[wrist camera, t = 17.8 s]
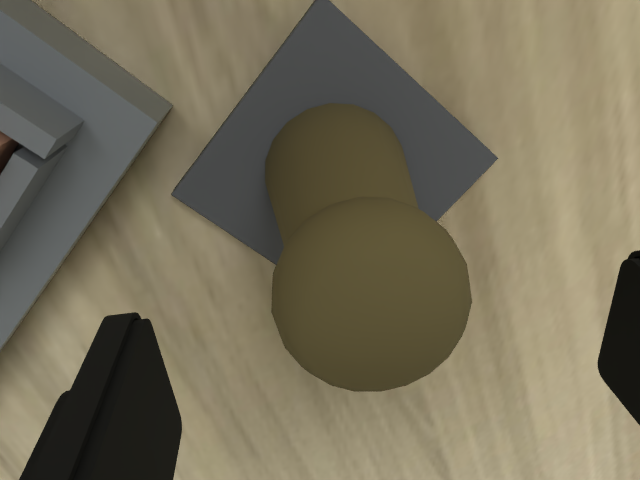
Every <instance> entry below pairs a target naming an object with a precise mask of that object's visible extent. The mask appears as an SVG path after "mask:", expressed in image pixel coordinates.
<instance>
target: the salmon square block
mask: <svg viewBox="0 0 640 480" xmlns="http://www.w3.org/2000/svg"><path fill="white" fill-rule="evenodd" d="M18 144H19V143H18V142H17V141H15V140H13V139H12V138H10V137H9V136H7V135H6V134H4V133H2V132H1V131H0V173H1V172H2V170H3V168H4V167H5V165H6V163H7V162H8V160H9V158H10V157H11V155H12V153H13V152H14V150H15V149H16V147H17V145H18Z"/></svg>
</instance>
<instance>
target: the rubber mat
mask: <svg viewBox="0 0 640 480" xmlns="http://www.w3.org/2000/svg"><path fill="white" fill-rule="evenodd" d="M328 103H338V104H354V105H356V106H359V107H361V108H364V109H366V110H369V111H371V112H374V113H375V114H377V115H378V116H379V117H380V118H381V119H382V120H383V121H385V122H386V123H387V124H388V125H389V126H390V127H391V128H392V129H393V131H394V133H395V135H396V137H397V138H398V140H399V142H400V144H401V145H402V148H403V152H404V156H405V160H406V163H407V167H408V171H409V175H410V178H411V182H412V186H413V190H414V193H415V197H416V201H417V204H418V208H419V209H420V210H421V211H423V212H425V213H426V214H427V215H428V216H430V217H431V218H432V219H433V220H435V221H437V220H438V219H439V218H440V217H441V216H442V215H443V214H444V213H445V212H446V211H447V210H448V209H449V208H450V207H451V206H452V205H453V204H454V203H455V202H456V201H457V200H458V199H459V198H460V197H461V196H462V195H463V194H464V193H465V192H466V191H467V190H468V189H469V188H470V187H471V186H472V185H473V184H474V183H475V182H476V180H477V179H478V178H479V177H480V176H481V175H482V174H483V173H484V172H485V171H486V170H487V169H488V168H489V167H490V166H491V165H492V164H493V163H494V162H495V161H496V160H497V159H498V158H497V157H496V156H495V155H494V154H493V153H492V152H491V151H490V150H489V149H488V148H487V147H486V146H485V145H484V144H482V143H481V142H480V141H479V140H478V139H477V138H476V137H475V136H474V135H473V134H472V133H471V132H470V131H469V130H467V129H466V128H465V127H464V126H463V125H462V124H461V123H460V122H459V121H458V120H457V119H456V118H455V117H453V116H452V115H451V114H450V113H449V112H448V111H447V110H446V109H445V108H444V107H443V106H442V105H441V104H440V103H438V102H437V101H436V100H435V99H434V98H433V97H432V96H431V95H430V94H429V93H428V92H427V91H426V90H425V89H423V88H422V87H421V86H420V85H419V84H418V83H417V82H416V81H415V80H414V79H413V78H412V77H411V76H409V75H408V74H407V73H406V72H405V71H404V70H403V69H402V68H401V67H400V66H399V65H398V64H397V63H396V62H394V61H393V60H392V59H391V58H390V57H389V56H388V55H387V54H386V53H385V52H384V51H383V50H382V49H380V48H379V47H378V46H377V45H376V44H375V43H374V42H373V41H372V40H371V39H370V38H369V37H368V36H367V35H365V34H364V33H363V32H362V31H361V30H360V29H359V28H358V27H357V26H356V25H355V24H354V23H353V22H352V21H350V20H349V19H348V18H347V17H346V16H345V15H344V14H343V13H342V12H341V11H340V10H339V9H338V8H336V7H335V6H334V5H333V4H332V3H331V2H330V1H329V0H315V1H314V3H313V4H312V5H311V7H310V8H309V9H308V11H307V12H306V13H305V15H304V16H303V17H302V19H301V20H300V21H299V23H298V24H297V25H296V27H295V28H294V29H293V31H292V32H291V33H290V35H289V36H288V37H287V39H286V40H285V41H284V43H283V44H282V45H281V47H280V48H279V49H278V51H277V52H276V53H275V55H274V56H273V57H272V59H271V60H270V61H269V63H268V64H267V65H266V67H265V68H264V69H263V71H262V72H261V73H260V75H259V76H258V77H257V79H256V80H255V81H254V83H253V84H252V85H251V87H250V88H249V89H248V91H247V92H246V94H245V95H244V96H243V98H242V99H241V100H240V102H239V103H238V104H237V106H236V107H235V108H234V110H233V111H232V112H231V114H230V115H229V116H228V118H227V119H226V120H225V122H224V123H223V124H222V126H221V127H220V128H219V130H218V131H217V132H216V134H215V135H214V136H213V138H212V139H211V140H210V142H209V143H208V144H207V146H206V147H205V148H204V150H203V151H202V152H201V154H200V155H199V156H198V158H197V159H196V160H195V162H194V163H193V164H192V166H191V167H190V168H189V170H188V171H187V172H186V174H185V175H184V176H183V178H182V179H181V180H180V182H179V183H178V184H177V186H176V187H175V189H174V191H173V193H172V194H171V195H172V196H174V197H175V198H177V199H178V200H180V201H181V202H183V203H184V204H186V205H187V206H189V207H190V208H192V209H193V210H195V211H196V212H198V213H199V214H201V215H202V216H204V217H205V218H207V219H208V220H210V221H211V222H213V223H214V224H216V225H217V226H219V227H220V228H222V229H223V230H225V231H226V232H228V233H229V234H231V235H232V236H234V237H235V238H237V239H238V240H240V241H241V242H243V243H244V244H246V245H247V246H249V247H250V248H252V249H253V250H255V251H256V252H258V253H259V254H261V255H262V256H264V257H265V258H267V259H268V260H270V261H271V262H273V263H274V264H276V265H277V263H278V260H279V258H280V255H281V253H282V251H283V248H284V244H283V241H282V238H281V234H280V231H279V228H278V224H277V221H276V217H275V214H274V211H273V207H272V204H271V201H270V197H269V194H268V191H267V187H266V184H265V160H266V158H267V155H268V152H269V149H270V147H271V144H272V141H273V139H274V138H275V137H276V136H277V134H278V133H279V132H280V131H281V129H282V128H283V127H284V126H285V124H286V123H287V122H288V121H290V120H291V119H293V118H294V117H296V116H297V115H299V114H300V113H302V112H303V111H305V110H307V109H310V108H313V107H317V106H321V105H324V104H328Z"/></svg>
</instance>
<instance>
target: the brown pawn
mask: <svg viewBox="0 0 640 480" xmlns="http://www.w3.org/2000/svg"><path fill="white" fill-rule="evenodd" d="M265 184H266V187H267V191H268V194H269V197H270V201H271V204H272V207H273V211H274V214H275V217H276V221H277V224H278V228H279V231H280V234H281V238H282V241H283V244H284V248H283V251H282V253H281V255H280V258H279V260H278V263H277V265H276V267H275V270H274V272H273V284H272V314H273V317H274V320H275V323H276V325H277V328H278V331H279V334H280V336H281V339H282V341H283V344H284V346H285V348H286V349H287V350H288V352H289V353H290V354H291V355H292V356H293V357H294V359H295V360H296V361H297V362H298V363H299V364H300V365H301V367H303V368H304V369H305V370H307V371H308V372H309V373H311V374H313V375H314V376H316V377H318V378H319V379H321V380H323V381H324V382H326V383H328V384H330V385H332V386H336V387H340V388H344V389H347V390H351V391H385V390H389V389H393V388H397V387H401V386H406V385H408V384H410V383H412V382H414V381H416V380H418V379H420V378H422V377H424V376H426V375H428V374H430V373H431V372H432V371H433V370H434V369H435V368H437V367H438V366H439V365H440V364H441V363H442V362H443V361H445V360H446V359H447V358H448V357H449V355H450V354H451V352H452V351H453V349H454V348H455V346H456V345H457V343H458V341H459V340H460V338H461V337H462V334H463V332H464V330H465V327H466V324H467V320H468V316H469V312H470V308H471V304H472V298H471V291H470V283H469V276H468V270H467V263H466V262H465V260H464V258H463V256H462V255H461V253H460V251H459V249H458V248H457V246H456V244H455V242H454V241H453V239H452V238H451V236H450V235H449V233H448V232H447V231H446V229H445V228H443V227H442V226H441V225H440V224H438V223H437V222H436V221H435V220H433V219H432V218H431V217H430V216H428V215H427V214H426V213H425V212H423V211H421V210H420V209H419V208H418V204H417V201H416V197H415V193H414V190H413V186H412V182H411V178H410V175H409V171H408V167H407V163H406V160H405V156H404V152H403V148H402V145H401V144H400V142H399V140H398V138H397V137H396V135H395V133H394V131H393V129H392V128H391V127H390V126H389V125H388V124H387V123H386V122H385V121H383V120H382V119H381V118H380V117H379V116H378V115H377V114H375V113H374V112H371V111H369V110H366V109H364V108H361V107H359V106H356V105H354V104H338V103H328V104H324V105H321V106H317V107H313V108H310V109H307V110H305V111H303V112H302V113H300V114H299V115H297V116H296V117H294V118H293V119H291V120H290V121H288V122H287V123H286V124H285V126H284V127H283V128H282V129H281V131H280V132H279V133H278V134H277V136H276V137H275V138H274V139H273V141H272V144H271V147H270V149H269V152H268V155H267V158H266V160H265Z"/></svg>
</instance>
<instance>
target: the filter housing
mask: <svg viewBox="0 0 640 480" xmlns="http://www.w3.org/2000/svg"><path fill="white" fill-rule="evenodd" d="M172 106H173V105H172V104H171V103H169V102H168V101H166V100H165V99H164V98H162V97H161V96H160V95H158V94H157V93H156V92H154V91H153V90H152V89H150V88H149V87H148V86H146V85H145V84H143V83H142V82H141V81H139V80H138V79H137V78H135V77H134V76H133V75H131V74H130V73H129V72H127V71H126V70H124V69H123V68H122V67H120V66H119V65H118V64H116V63H115V62H114V61H112V60H111V59H110V58H108V57H107V56H106V55H104V54H103V53H101V52H100V51H99V50H97V49H96V48H95V47H93V46H92V45H91V44H89V43H88V42H87V41H85V40H84V39H82V38H81V37H80V36H78V35H77V34H76V33H74V32H73V31H72V30H70V29H69V28H68V27H66V26H65V25H63V24H62V23H61V22H59V21H58V20H57V19H55V18H54V17H53V16H51V15H50V14H49V13H47V12H46V11H45V10H43V9H42V8H40V7H39V6H38V5H36V4H35V3H34V2H32V1H31V0H0V131H1V132H2V133H4V134H6V135H7V136H9V137H10V138H12V139H13V140H15V141H17V142H18V143H19V144H18V145H17V147H16V149H15V150H14V152H13V153H12V155H11V157H10V158H9V160H8V162H7V163H6V165H5V167H4V168H3V170H2V172H1V173H0V352H1V350H2V349H3V348H4V346H5V345H6V343H7V342H8V340H9V339H10V338H11V336H12V335H13V333H14V332H15V330H16V329H17V328H18V326H19V325H20V323H21V322H22V320H23V319H24V318H25V316H26V315H27V313H28V312H29V310H30V309H31V308H32V306H33V305H34V303H35V302H36V300H37V299H38V298H39V296H40V295H41V293H42V292H43V290H44V289H45V288H46V286H47V285H48V283H49V282H50V280H51V279H52V278H53V276H54V275H55V273H56V272H57V270H58V269H59V268H60V266H61V265H62V263H63V262H64V260H65V259H66V258H67V256H68V255H69V253H70V252H71V250H72V249H73V248H74V246H75V245H76V243H77V242H78V240H79V239H80V238H81V236H82V235H83V233H84V232H85V230H86V229H87V228H88V226H89V225H90V223H91V222H92V220H93V219H94V218H95V216H96V215H97V213H98V212H99V210H100V209H101V208H102V206H103V205H104V203H105V202H106V200H107V199H108V198H109V196H110V195H111V193H112V192H113V190H114V189H115V188H116V186H117V185H118V183H119V182H120V180H121V179H122V178H123V176H124V175H125V173H126V172H127V170H128V169H129V168H130V166H131V165H132V163H133V162H134V160H135V159H136V158H137V156H138V155H139V153H140V152H141V150H142V149H143V148H144V146H145V145H146V143H147V142H148V140H149V139H150V138H151V136H152V135H153V133H154V132H155V130H156V129H157V128H158V126H159V125H160V123H161V122H162V120H163V119H164V118H165V116H166V115H167V113H168V112H169V110H170V109H171V108H172Z"/></svg>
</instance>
